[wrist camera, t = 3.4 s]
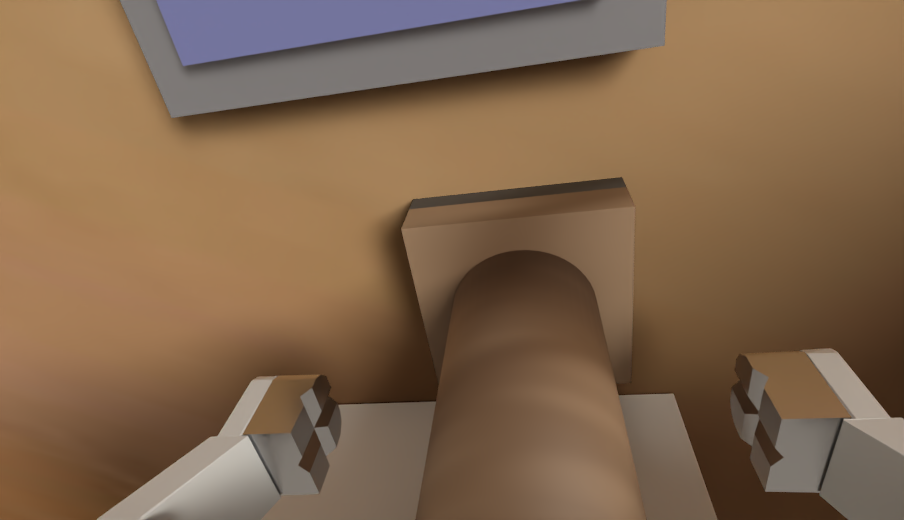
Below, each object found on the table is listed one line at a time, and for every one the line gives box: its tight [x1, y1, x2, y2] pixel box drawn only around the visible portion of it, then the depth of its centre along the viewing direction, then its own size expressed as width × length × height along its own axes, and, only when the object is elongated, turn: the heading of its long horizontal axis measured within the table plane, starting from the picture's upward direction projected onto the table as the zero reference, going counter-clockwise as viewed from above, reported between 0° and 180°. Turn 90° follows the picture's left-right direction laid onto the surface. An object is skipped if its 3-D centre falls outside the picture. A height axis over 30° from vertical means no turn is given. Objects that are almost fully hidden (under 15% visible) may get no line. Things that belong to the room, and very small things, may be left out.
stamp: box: [401, 177, 647, 520], centre depth 10 cm, size 5×5×8 cm
